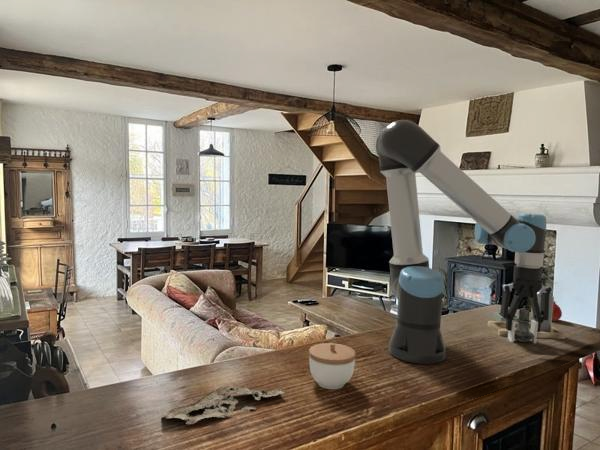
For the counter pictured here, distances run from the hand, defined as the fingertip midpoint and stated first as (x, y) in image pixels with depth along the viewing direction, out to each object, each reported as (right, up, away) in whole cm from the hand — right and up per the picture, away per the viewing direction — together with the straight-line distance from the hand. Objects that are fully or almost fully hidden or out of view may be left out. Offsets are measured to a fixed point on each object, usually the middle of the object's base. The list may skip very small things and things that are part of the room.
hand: (521, 341), depth 136 cm
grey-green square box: (+5, +1, +21) cm, 21 cm away
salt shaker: (0, -1, 0) cm, 1 cm away
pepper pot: (+10, +1, +9) cm, 14 cm away
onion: (+22, 0, +24) cm, 33 cm away
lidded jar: (-60, -2, -32) cm, 68 cm away
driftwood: (-82, -2, -45) cm, 93 cm away
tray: (+5, 0, +9) cm, 11 cm away
